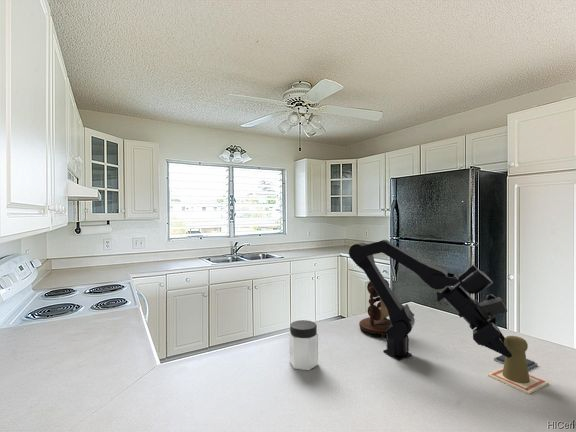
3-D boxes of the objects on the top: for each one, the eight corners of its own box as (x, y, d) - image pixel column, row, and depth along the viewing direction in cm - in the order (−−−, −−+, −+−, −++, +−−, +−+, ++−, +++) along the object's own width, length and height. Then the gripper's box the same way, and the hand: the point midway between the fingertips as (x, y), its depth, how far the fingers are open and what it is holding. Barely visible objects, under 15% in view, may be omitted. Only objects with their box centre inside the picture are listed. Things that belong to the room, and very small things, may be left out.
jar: (286, 358, 98) (286, 321, 97) (310, 355, 100) (310, 318, 100) (295, 372, 89) (295, 331, 89) (321, 368, 91) (321, 328, 91)
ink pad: (523, 371, 88) (523, 368, 88) (493, 360, 96) (493, 357, 96) (537, 365, 92) (537, 362, 92) (508, 354, 99) (508, 351, 99)
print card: (528, 394, 78) (528, 391, 78) (487, 375, 87) (487, 373, 87) (548, 383, 82) (548, 381, 82) (507, 367, 91) (507, 365, 91)
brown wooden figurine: (385, 341, 110) (385, 286, 110) (351, 330, 121) (351, 279, 121) (405, 331, 120) (405, 279, 120) (372, 321, 131) (372, 274, 131)
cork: (519, 385, 81) (519, 343, 81) (497, 373, 87) (497, 334, 86) (535, 381, 83) (535, 340, 83) (512, 370, 88) (512, 332, 88)
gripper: (488, 295, 80) (542, 347, 74) (484, 280, 96) (528, 322, 90) (453, 319, 84) (502, 370, 78) (455, 302, 100) (496, 343, 94)
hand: (508, 350), depth 85 cm, fingers open, 9 cm apart
